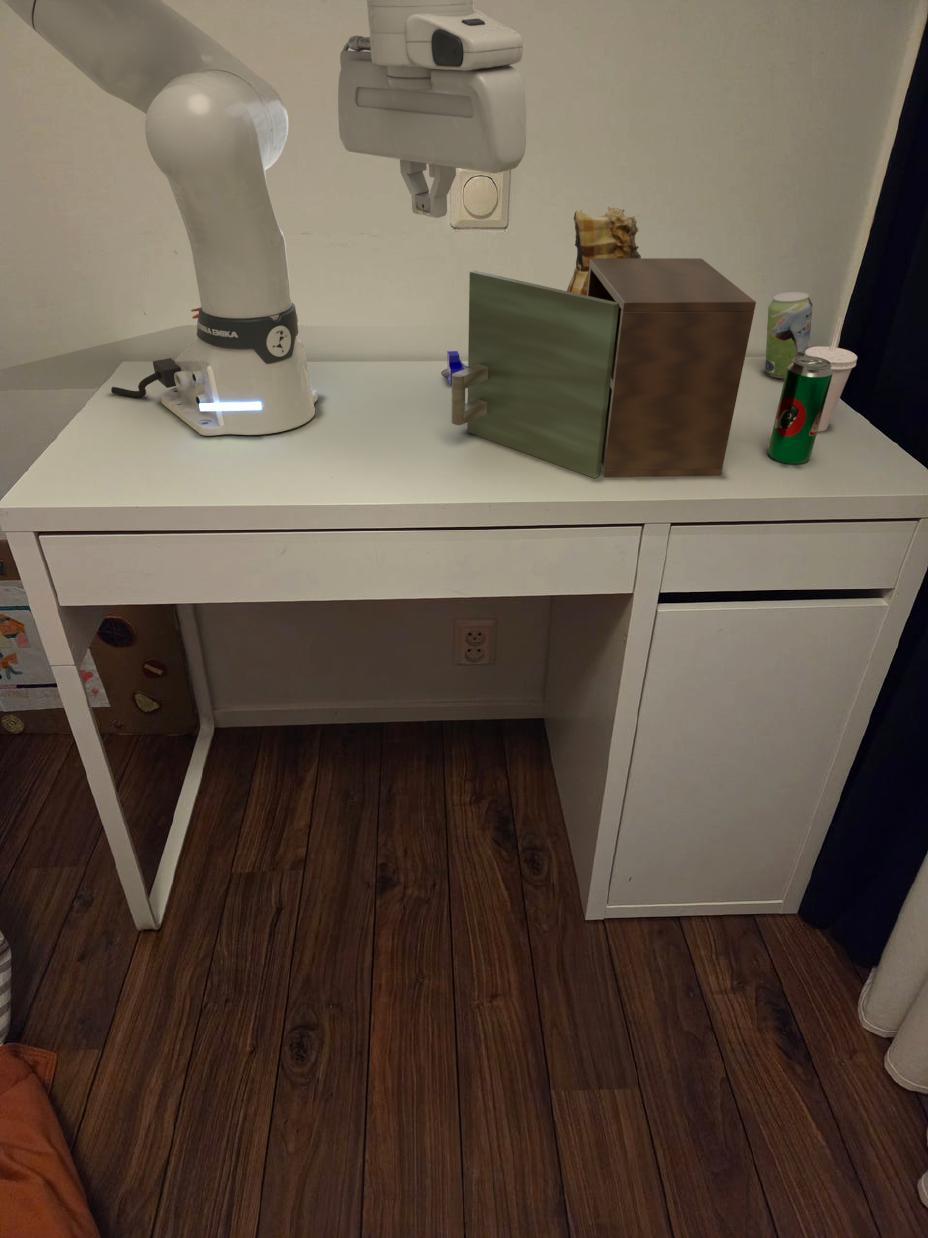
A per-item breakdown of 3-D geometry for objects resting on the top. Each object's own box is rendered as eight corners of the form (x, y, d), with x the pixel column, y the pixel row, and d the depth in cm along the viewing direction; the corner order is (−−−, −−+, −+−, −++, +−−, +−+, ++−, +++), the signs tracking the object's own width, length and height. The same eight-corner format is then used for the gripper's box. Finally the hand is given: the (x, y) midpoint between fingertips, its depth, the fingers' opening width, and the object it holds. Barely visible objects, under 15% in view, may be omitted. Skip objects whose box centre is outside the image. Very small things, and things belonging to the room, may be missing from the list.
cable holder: (450, 386, 124) (450, 358, 122) (447, 377, 127) (447, 351, 125) (504, 383, 125) (505, 356, 123) (499, 375, 128) (500, 349, 126)
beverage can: (810, 382, 127) (831, 299, 120) (761, 382, 127) (779, 299, 120) (797, 368, 132) (816, 288, 125) (750, 368, 132) (766, 287, 125)
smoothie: (839, 421, 115) (869, 315, 106) (835, 438, 110) (866, 329, 102) (790, 413, 117) (816, 309, 109) (784, 430, 112) (810, 322, 104)
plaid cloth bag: (546, 352, 134) (559, 186, 115) (634, 362, 132) (661, 195, 113) (533, 403, 125) (544, 231, 106) (627, 414, 123) (655, 241, 104)
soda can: (811, 468, 102) (838, 370, 95) (768, 464, 103) (791, 366, 96) (806, 451, 106) (831, 356, 100) (765, 447, 107) (787, 352, 100)
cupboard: (603, 478, 100) (624, 302, 88) (575, 413, 116) (589, 258, 104) (720, 476, 100) (756, 301, 89) (676, 412, 117) (701, 258, 105)
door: (568, 493, 96) (584, 315, 84) (439, 444, 107) (438, 279, 95) (599, 475, 100) (619, 302, 88) (472, 429, 110) (475, 270, 99)
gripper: (313, 37, 75) (331, 206, 84) (488, 44, 64) (489, 237, 73) (365, 32, 79) (377, 194, 88) (539, 37, 68) (534, 223, 77)
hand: (429, 214), depth 80 cm, fingers closed
